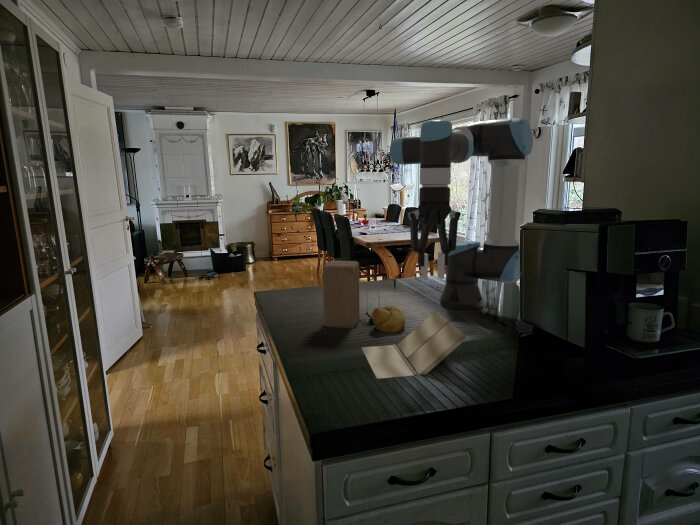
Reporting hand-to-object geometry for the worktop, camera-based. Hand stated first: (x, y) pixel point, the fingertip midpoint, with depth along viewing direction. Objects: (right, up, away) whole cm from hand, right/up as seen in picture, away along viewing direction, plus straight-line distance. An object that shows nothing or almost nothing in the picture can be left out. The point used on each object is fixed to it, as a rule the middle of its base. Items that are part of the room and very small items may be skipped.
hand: (432, 277), depth 111 cm
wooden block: (-24, -16, +29) cm, 41 cm away
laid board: (-12, -22, -3) cm, 25 cm away
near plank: (0, -17, -7) cm, 19 cm away
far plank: (-2, -16, +3) cm, 16 cm away
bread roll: (-9, -17, +23) cm, 30 cm away
